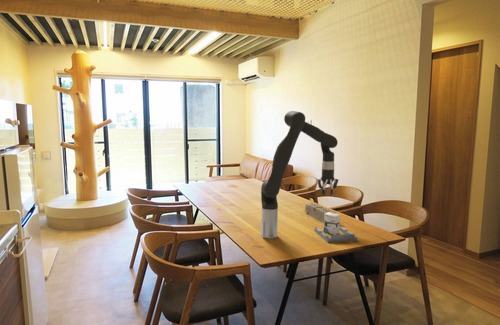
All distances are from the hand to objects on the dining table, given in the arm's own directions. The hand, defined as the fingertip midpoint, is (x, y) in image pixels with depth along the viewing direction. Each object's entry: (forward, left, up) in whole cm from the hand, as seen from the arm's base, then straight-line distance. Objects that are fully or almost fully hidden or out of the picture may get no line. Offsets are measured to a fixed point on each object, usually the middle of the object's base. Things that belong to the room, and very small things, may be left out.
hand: (327, 194), depth 212 cm
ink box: (-1, -10, -22) cm, 24 cm away
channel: (-1, -15, -21) cm, 26 cm away
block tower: (+4, +21, -22) cm, 30 cm away
